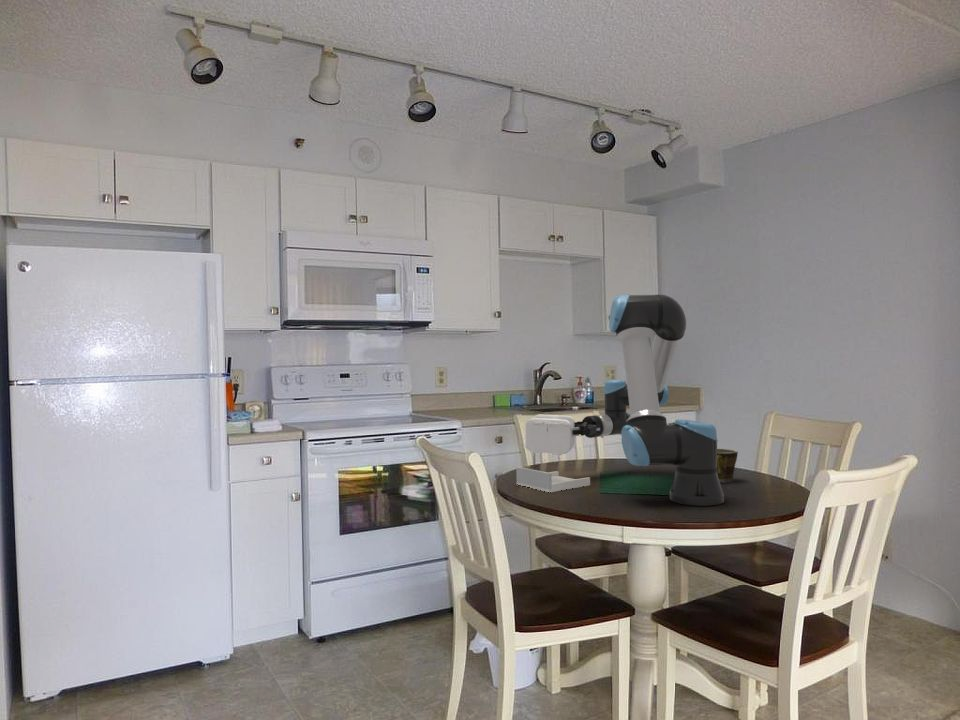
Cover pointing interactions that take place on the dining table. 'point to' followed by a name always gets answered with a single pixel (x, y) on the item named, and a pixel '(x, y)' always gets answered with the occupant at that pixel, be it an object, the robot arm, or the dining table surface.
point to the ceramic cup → (726, 464)
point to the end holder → (547, 480)
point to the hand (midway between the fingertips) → (550, 431)
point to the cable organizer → (549, 434)
